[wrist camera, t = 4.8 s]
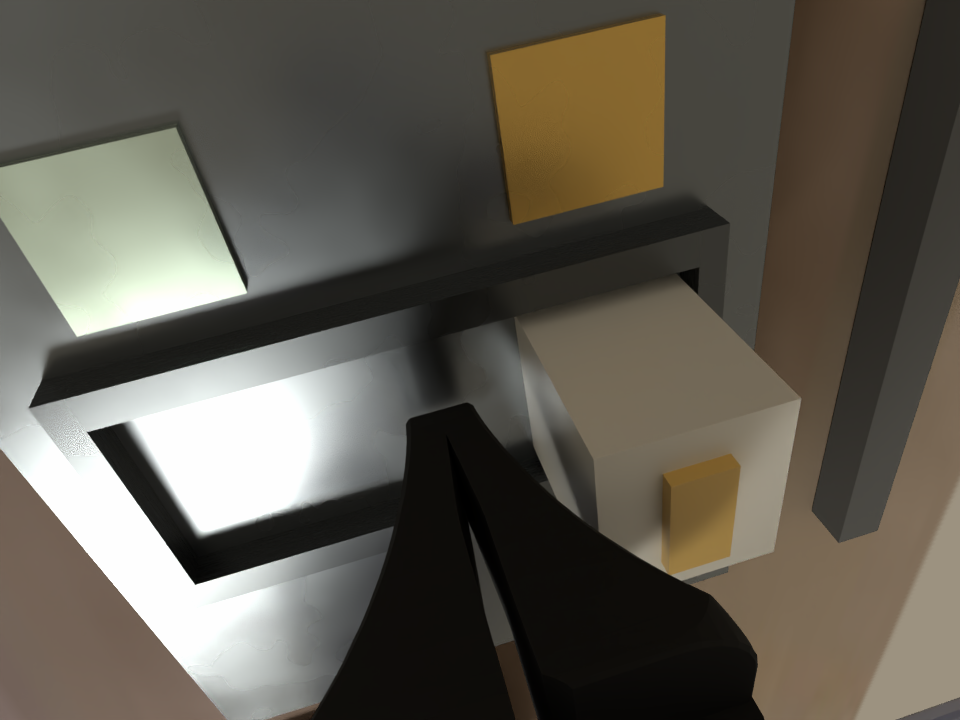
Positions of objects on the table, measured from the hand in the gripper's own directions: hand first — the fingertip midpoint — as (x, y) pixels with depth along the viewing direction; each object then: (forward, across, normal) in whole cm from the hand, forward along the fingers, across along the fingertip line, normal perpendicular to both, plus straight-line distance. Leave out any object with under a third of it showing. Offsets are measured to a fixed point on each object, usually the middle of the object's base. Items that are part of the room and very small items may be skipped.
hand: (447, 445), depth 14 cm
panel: (+2, 0, 0) cm, 2 cm away
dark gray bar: (+2, -12, +2) cm, 13 cm away
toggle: (+1, -4, 0) cm, 4 cm away
